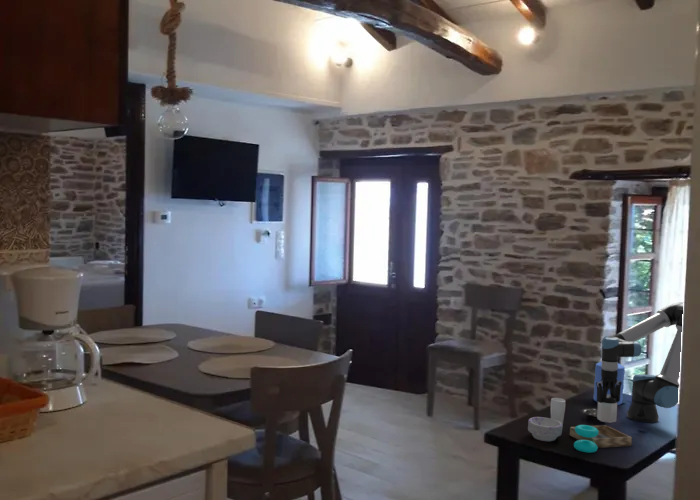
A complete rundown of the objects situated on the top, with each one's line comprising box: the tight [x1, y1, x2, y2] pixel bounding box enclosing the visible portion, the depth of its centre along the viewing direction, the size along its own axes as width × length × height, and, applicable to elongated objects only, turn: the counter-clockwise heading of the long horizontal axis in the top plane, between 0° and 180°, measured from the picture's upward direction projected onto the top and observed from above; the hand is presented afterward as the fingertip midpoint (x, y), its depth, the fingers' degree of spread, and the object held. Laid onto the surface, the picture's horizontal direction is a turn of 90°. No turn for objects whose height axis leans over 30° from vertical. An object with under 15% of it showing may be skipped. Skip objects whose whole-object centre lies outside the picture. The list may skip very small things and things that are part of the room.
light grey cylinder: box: [550, 397, 566, 427], centre depth 326 cm, size 7×7×15 cm
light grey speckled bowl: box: [527, 416, 563, 442], centre depth 312 cm, size 15×15×8 cm
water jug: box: [592, 361, 626, 406], centre depth 384 cm, size 16×16×28 cm
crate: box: [569, 424, 633, 449], centre depth 313 cm, size 20×18×4 cm
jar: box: [596, 394, 618, 424], centre depth 333 cm, size 9×8×12 cm
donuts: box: [573, 424, 599, 454], centre depth 299 cm, size 10×10×10 cm
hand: (607, 415), depth 334 cm, fingers closed on jar, 4 cm apart
